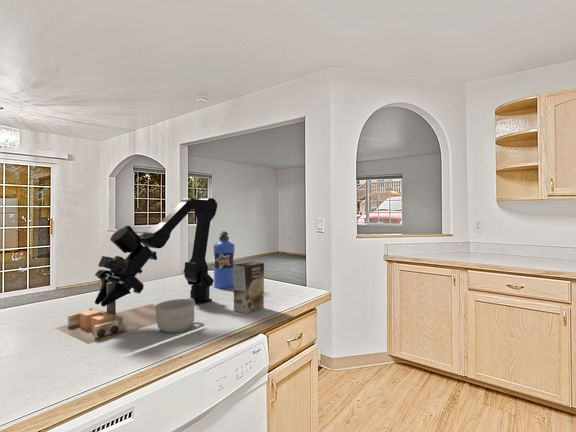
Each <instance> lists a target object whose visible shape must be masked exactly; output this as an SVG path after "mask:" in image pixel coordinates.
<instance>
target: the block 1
mask: <svg viewBox="0 0 576 432" xmlns="http://www.w3.org/2000/svg"><path fill="white" fill-rule="evenodd" d="M81 312H82V313H80V312H79V313H80V327H82V328H84V329H89V328H91V317H95V316H99V315H101V312H99V311H96V310H91V311H89V310H86V312H84V311H81Z"/></svg>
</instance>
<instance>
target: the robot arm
mask: <svg viewBox="0 0 576 432" xmlns="http://www.w3.org/2000/svg"><path fill="white" fill-rule="evenodd" d="M192 210H193V211H194V215H195V217H196V227H195V232H194V241H193V247H192V248H193V249H192V255H191V258H190V259H189V260H188V261H185V262H184V270H183V271H182V272H183V274H184V278H185V280H186V281H187V284H188V286H190V291H189V292H190V297H189V298H193V299H194V301H195V304H197V305H201V304H205V303H208V302H212V301H213V299H212V298H210V287H211V286H214V278H212V277H211V275H210V274H209V266H208V264H207V261H206V257H207V256H206V255H207V249H208V241H209V235H210V233H209V232H210V227H211V222H212V220H213V219H214V218H215V216H216V214H217V210H218V202H217V201H216V200H215V198H212V197H207V198H206V197H199V198H192V197H187V198H186V197H185V198H182V199H181V200H180V201H179V203H178V204H177V205H176V206H175V207H174V208H173V209H172V210H171V211H170V212H169V213H168V214H167V215H166V216H165V217H164V218H163V219H162V220H161V221H160V222H159V223H158V224H157V223H156V224H155V225H153V226H152V227H149V228H148V229H147V230H146V231H144V232H143V233H142V234H137V232H136V231H135V230H134V228H133V227H131V226H130V225H125V226H124V227H122V228H120V229H119V230H117V231H115V232H114V233H112V235H111V237H110V240H109V241H110V242H111V243H113V244H114V245H115V246H116V247H117V248H118V249H119V250H120V251H121V252H122V253H124V254H127V253H129V254H128V255H127V256H126V258H124V257H123V256H119V255H115V256H114V257H110V256H105V255H102V256H101V258H100V261H99V262H98V264H97V266H98V267H100V268H105V269H98V270H97V271H96V272H95V274H94V276H95V277H96V278H98V279H99V280H100V283H101V287H100V289H99V292H98V294H97V296H96V299H95V301H94V304H95V305H97V306H98V305H99V304H100V306H101V307H107V305H108V304H110V303H111V302H113V301H115V300H117V301H118V300H119V299H120V298H123V297H125V296H126V295H130V294H132V293H131V291H130V290H131V289H132V290H133V292H134V293H135V294H139V295H140V294H141V293H142V291H143V290H144V283H143V282H142V281H140V280H139V278H137V277H136V276H137V275H138V274H139V275H141V274H142V273H143V270H142V269H143V267H145V265H146V264H147V262H149V260H155V261H156V260H158V256H157V251H154V250H153V251H152V250H151V249H162V248H163V247H165V246H166V243H168V240H170V237H171V234H172V232H173V230H174V229H175V228H176V227H178V225H179V224H180V223H181V222H182V221H183V219H185V217H186V216H187V215H188V214H189V213H190V212H191V211H192ZM150 248H151V249H150ZM109 282H112V288H111V290H110V291H109V292H108V294H107V291H106V283H109Z"/></svg>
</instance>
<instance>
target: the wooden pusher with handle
mask: <svg viewBox="0 0 576 432" xmlns="http://www.w3.org/2000/svg"><path fill="white" fill-rule="evenodd" d="M111 288H112V282H109V283H106V291H107V294H108V292H109V291H110V290H111ZM116 304H117V303H116V300H115V301H113V302H111V303H110V304H108V305H106V311H104V310H102V309H100V308H95V307H89V308H88V311H91V310H96V311H99V312H101V315H103V314H108V315H110V316H113V321H110V322H107V323H103V324H99V325H95V326H94V337H95V338H98V337H103V336H105V335H108V334H112V333H116V332H118V331H122V330H123V318H122V317H120V316H117V315H116V313H117V311H116V310H117V307H116V306H117V305H116ZM86 311H87V310H86ZM86 311H81V312H77V313H73V314H68V315H67V325H68V326H73V325H77V324H80V313H82V312H86Z"/></svg>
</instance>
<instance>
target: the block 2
mask: <svg viewBox="0 0 576 432" xmlns="http://www.w3.org/2000/svg"><path fill="white" fill-rule="evenodd" d="M110 321H113V316H110V315H108V314H103V315H99V316H95V317H91V332H94V326H95V325H99V324H103V323H107V322H110Z"/></svg>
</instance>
